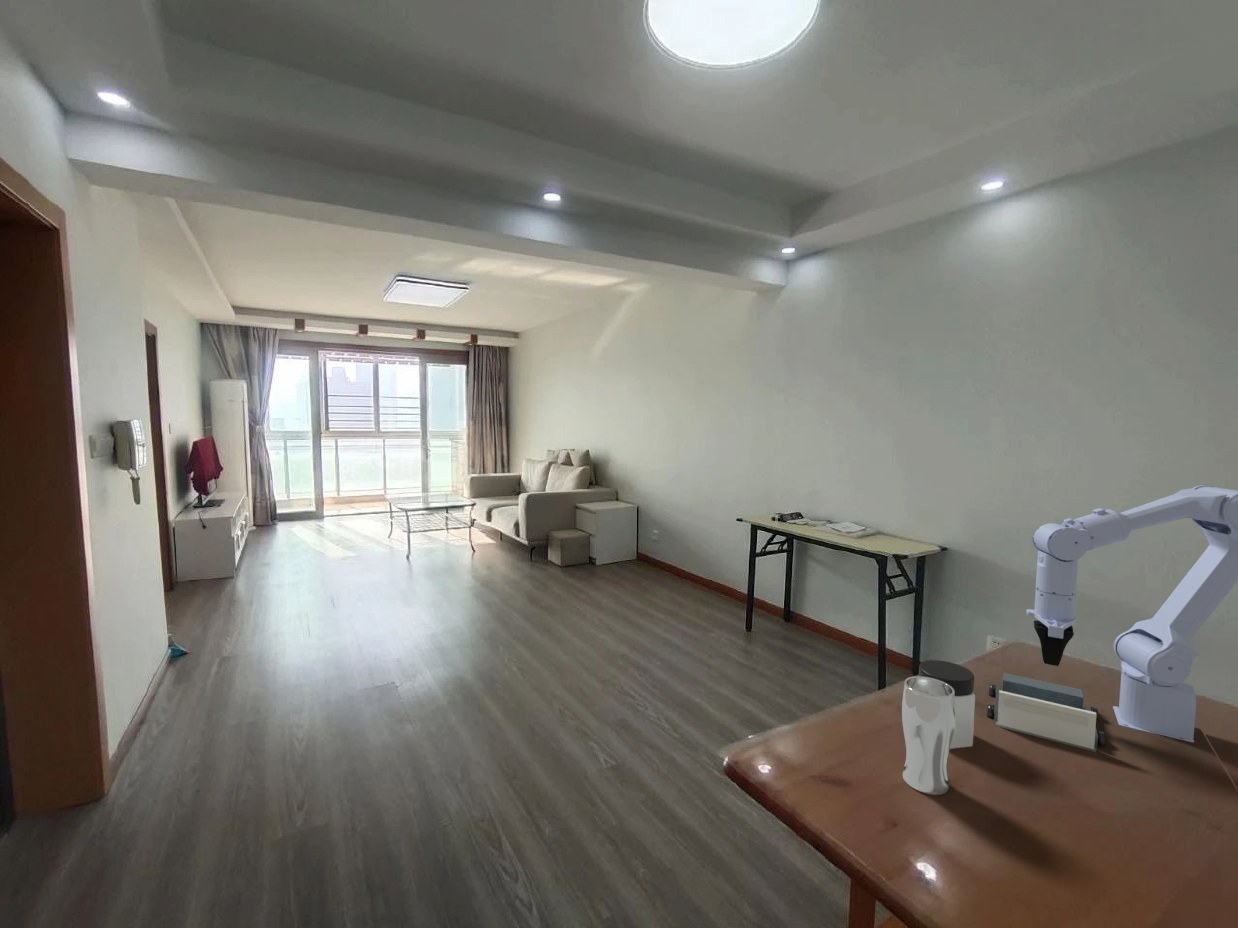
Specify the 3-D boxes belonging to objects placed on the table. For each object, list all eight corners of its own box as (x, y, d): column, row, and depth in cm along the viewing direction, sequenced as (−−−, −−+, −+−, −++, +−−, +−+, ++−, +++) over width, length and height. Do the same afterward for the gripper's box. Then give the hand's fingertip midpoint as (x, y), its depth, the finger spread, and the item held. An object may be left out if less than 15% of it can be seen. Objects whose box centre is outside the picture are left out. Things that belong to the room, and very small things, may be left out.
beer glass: (891, 766, 87) (894, 675, 86) (936, 767, 87) (940, 675, 86) (913, 796, 80) (917, 697, 79) (962, 797, 80) (966, 698, 79)
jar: (981, 740, 95) (984, 672, 94) (963, 758, 89) (966, 687, 88) (925, 718, 101) (928, 654, 100) (905, 734, 96) (908, 667, 95)
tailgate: (1095, 751, 91) (1098, 712, 90) (1096, 755, 90) (1099, 715, 89) (995, 725, 99) (997, 689, 98) (995, 728, 98) (997, 692, 97)
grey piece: (1094, 712, 103) (1096, 692, 103) (1105, 754, 90) (1107, 730, 90) (989, 688, 112) (990, 669, 112) (986, 723, 100) (987, 701, 99)
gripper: (1027, 577, 108) (1023, 645, 110) (1028, 597, 97) (1024, 672, 98) (1073, 583, 104) (1069, 653, 105) (1081, 605, 93) (1076, 683, 94)
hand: (1051, 663), depth 101 cm, fingers closed
